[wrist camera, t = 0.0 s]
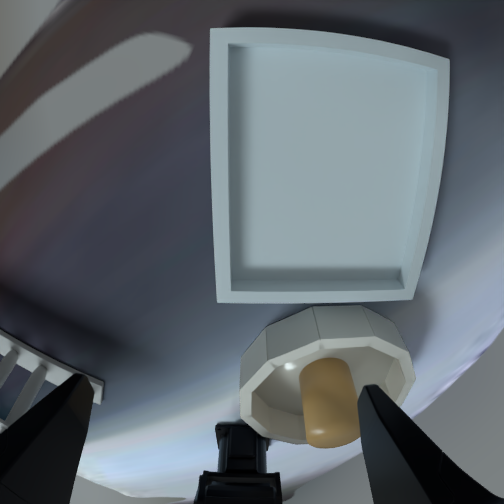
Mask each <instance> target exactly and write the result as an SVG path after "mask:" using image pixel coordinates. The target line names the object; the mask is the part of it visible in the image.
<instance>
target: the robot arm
mask: <svg viewBox="0 0 504 504" xmlns="http://www.w3.org/2000/svg"><path fill="white" fill-rule="evenodd" d="M93 399H94V389H93V387H92V385H91V383H90V381H89V379H88V377H87V376H86V375H85V374H80V373H75V374H73V375H72V376H70V377H69V378H68V379H67V380H65V381H64V382H63V383H62V384H60V385H59V386H58V387H57V388H55V389H54V390H53V391H52V392H50V393H49V394H48V395H47V396H46V397H44V398H43V399H42V400H41V401H39V402H38V403H37V404H36V405H34V406H33V407H32V408H31V409H30V410H28V411H27V412H26V413H25V414H23V415H22V416H21V417H20V418H19V419H17V420H16V421H15V422H14V423H12V424H11V425H10V426H9V427H8V429H5V430H4V431H3V432H1V433H0V504H69V503H70V498H71V494H72V489H73V485H74V481H75V477H76V473H77V469H78V465H79V461H80V457H81V454H82V450H83V446H84V443H85V439H86V436H87V432H88V427H89V421H90V415H91V410H92V404H93ZM357 408H358V417H359V426H360V436H361V444H362V450H363V454H364V459H365V464H366V468H367V473H368V478H369V482H370V487H371V492H372V497H373V502H374V504H504V498H500V497H498V496H496V495H494V494H492V493H491V492H489V491H488V490H487V489H486V488H484V487H483V486H482V485H481V484H479V483H478V482H476V481H475V480H474V479H473V478H472V477H470V476H469V475H468V474H467V473H465V472H464V471H463V470H462V469H461V468H459V467H458V466H457V465H456V464H455V463H454V462H453V461H452V460H451V459H450V458H449V457H448V456H447V455H446V454H445V453H444V452H442V450H441V449H440V448H439V447H438V446H437V445H436V444H435V443H434V442H433V441H432V440H431V439H430V438H429V437H428V436H427V435H426V434H425V433H424V432H423V431H422V430H421V429H420V428H419V427H418V426H417V425H416V424H415V423H414V422H413V421H412V420H411V419H410V417H409V416H408V415H407V414H406V413H405V412H404V411H403V410H402V409H401V408H400V407H399V406H398V405H397V404H396V403H395V402H394V401H393V400H392V399H391V398H390V397H389V396H388V395H387V394H386V393H385V392H384V391H383V390H382V389H381V388H380V387H379V386H378V385H377V384H368V385H364V386H363V388H362V391H361V393H360V396H359V398H358V401H357ZM215 432H216V438H217V443H218V449H219V458H218V471H217V472H209V471H204V472H203V475H200V477H199V486H198V490H197V493H196V496H195V499H194V504H282V492H281V482H280V472H275V473H267V466H266V451H268V446H269V438H267V437H263V436H261V435H260V434H259V433H258V432H257V431H255V430H254V429H253V428H252V427H251V426H246V425H216V426H215Z"/></svg>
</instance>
